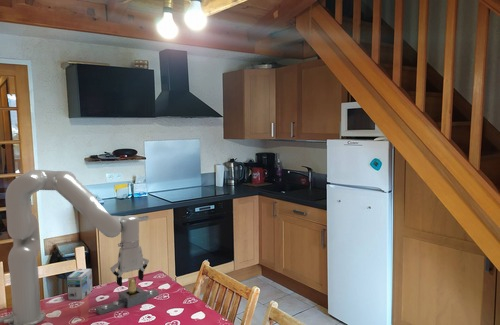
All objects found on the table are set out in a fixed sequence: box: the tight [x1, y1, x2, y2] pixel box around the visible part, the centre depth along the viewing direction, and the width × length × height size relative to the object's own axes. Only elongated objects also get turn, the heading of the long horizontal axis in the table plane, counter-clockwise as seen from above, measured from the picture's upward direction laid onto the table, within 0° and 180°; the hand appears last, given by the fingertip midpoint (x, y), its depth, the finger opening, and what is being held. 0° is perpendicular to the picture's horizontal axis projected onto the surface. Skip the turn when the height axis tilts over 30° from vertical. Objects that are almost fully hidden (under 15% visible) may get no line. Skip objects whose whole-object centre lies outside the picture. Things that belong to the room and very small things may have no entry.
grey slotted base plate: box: [95, 286, 160, 316], centre depth 163 cm, size 27×9×4 cm, turn 133°
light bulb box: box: [66, 268, 93, 301], centre depth 172 cm, size 11×7×11 cm, turn 179°
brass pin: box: [127, 277, 137, 296], centre depth 164 cm, size 3×3×10 cm
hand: (130, 282), depth 164 cm, fingers open, 9 cm apart
